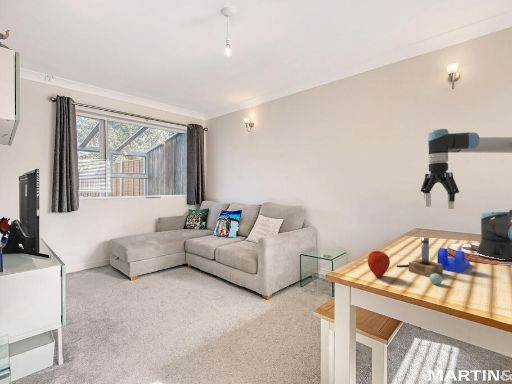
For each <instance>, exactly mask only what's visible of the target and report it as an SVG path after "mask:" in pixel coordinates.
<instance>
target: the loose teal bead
mask: <svg viewBox="0 0 512 384" xmlns="http://www.w3.org/2000/svg"><path fill="white" fill-rule="evenodd" d="M429 281H430V282H431V283H432V284H434V285H440V284H442V282H443V277H442V276H441V274H440V275H439V274H436V273H434V274H431V275H430V277H429Z"/></svg>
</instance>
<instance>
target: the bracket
mask: <svg viewBox="0 0 512 384" xmlns="http://www.w3.org/2000/svg"><path fill="white" fill-rule="evenodd" d="M436 256H437V257H436V258H437V260H436V261H437V262H436V263H439V264H443V271H445V272H450V273H455V274H460V275H461V274H463V272H465V271H466V270H468V268H469V267H470V265H471V264H470V263H471V262H470V261H469V260H467V259H466V254H465V251H463V250H456V251H455V253H454V257H449V250H448V249H447V248H444V247H439V248H438V251H437V255H436Z"/></svg>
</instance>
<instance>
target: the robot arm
mask: <svg viewBox="0 0 512 384" xmlns="http://www.w3.org/2000/svg"><path fill="white" fill-rule="evenodd" d="M427 139H428V140H427V141H428V163H429V164H428V171H429V172H430V173H425V175H424V180H423V182H422V185H421V188H420V192H422V193H423V200H424V207H432V193H431V191H432V189H433V188H434V186H435V185H436V184H437V183H440V184H441V185H442V186H443V188H444V189H445V191H446V193H447V194H446V210H454V209H455V199H456V198H455V197H456V194H459V193H460V190H459V187H458V186H457V183H456V180H455V177H454V174H453V171H451V172H450V171H449V163H448V161H449V153H450V154H451V153H454V154H455V153H489V154H490V153H494V154H495V153H498V154H499V153H501V154H502V153H503V154H505V153H506V154H512V136H511V137H510V136H508V137H507V136H504V137H503V136H501V137H500V136H499V137H498V136H497V137H496V136H494V137H493V136H490V137H484V136H483V137H482V136H481V137H480V135H479V134H478V133H477V132H472V131H471V132H469V131H468V132H455V133H449V130H448V129H447V128H438V129H433V130H431V131H429V133H428V137H427ZM448 171H449V172H448ZM480 234H481V236H480V237H481V238H480V242H479V245H478V248H477V249H476V254H477V253H479V254H482V255H485V256H489V257H494V258H499V259H505V260H512V208H511V209H509V211H484V212H482V213H481V216H480Z"/></svg>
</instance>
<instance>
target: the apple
mask: <svg viewBox="0 0 512 384" xmlns="http://www.w3.org/2000/svg"><path fill="white" fill-rule="evenodd" d="M390 261H391V260H390V256H388V254H387V253H385V252H384V251H381V250H373V251H372V252H369V254H368V257H367V266H368V269H369V270H370V271H371V273H372V274H373V275H374V276H375V277H376V278H381V277H383V275H385V273H386V272H387V271H388V269H389V268H390V265H391V264H390V263H391V262H390Z"/></svg>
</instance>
